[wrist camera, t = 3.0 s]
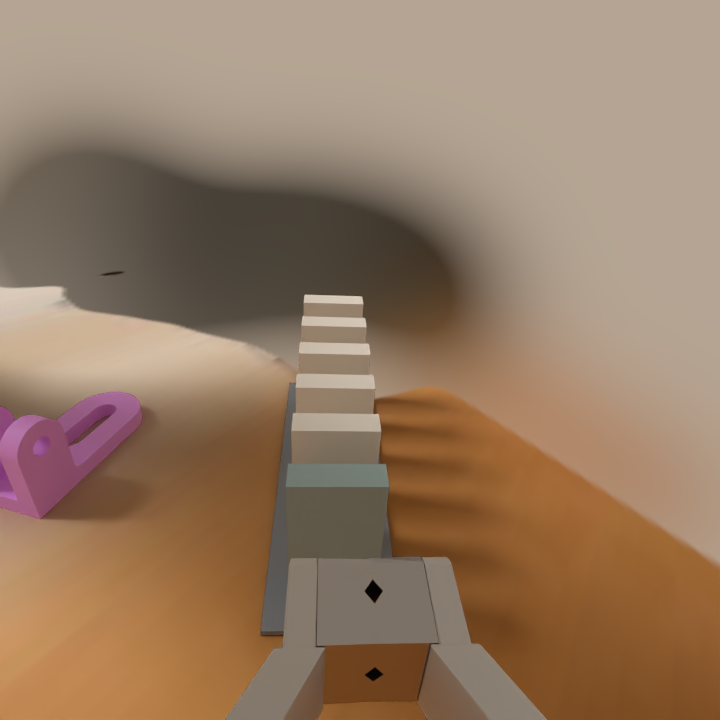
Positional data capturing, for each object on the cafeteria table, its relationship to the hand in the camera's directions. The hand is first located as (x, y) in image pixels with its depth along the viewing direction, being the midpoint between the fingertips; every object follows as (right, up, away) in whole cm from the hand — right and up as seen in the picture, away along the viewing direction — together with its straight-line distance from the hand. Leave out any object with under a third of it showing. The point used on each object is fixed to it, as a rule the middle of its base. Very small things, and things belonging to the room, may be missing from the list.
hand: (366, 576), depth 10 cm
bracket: (-23, -3, +31) cm, 38 cm away
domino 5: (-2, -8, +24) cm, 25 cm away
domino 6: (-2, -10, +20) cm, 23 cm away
